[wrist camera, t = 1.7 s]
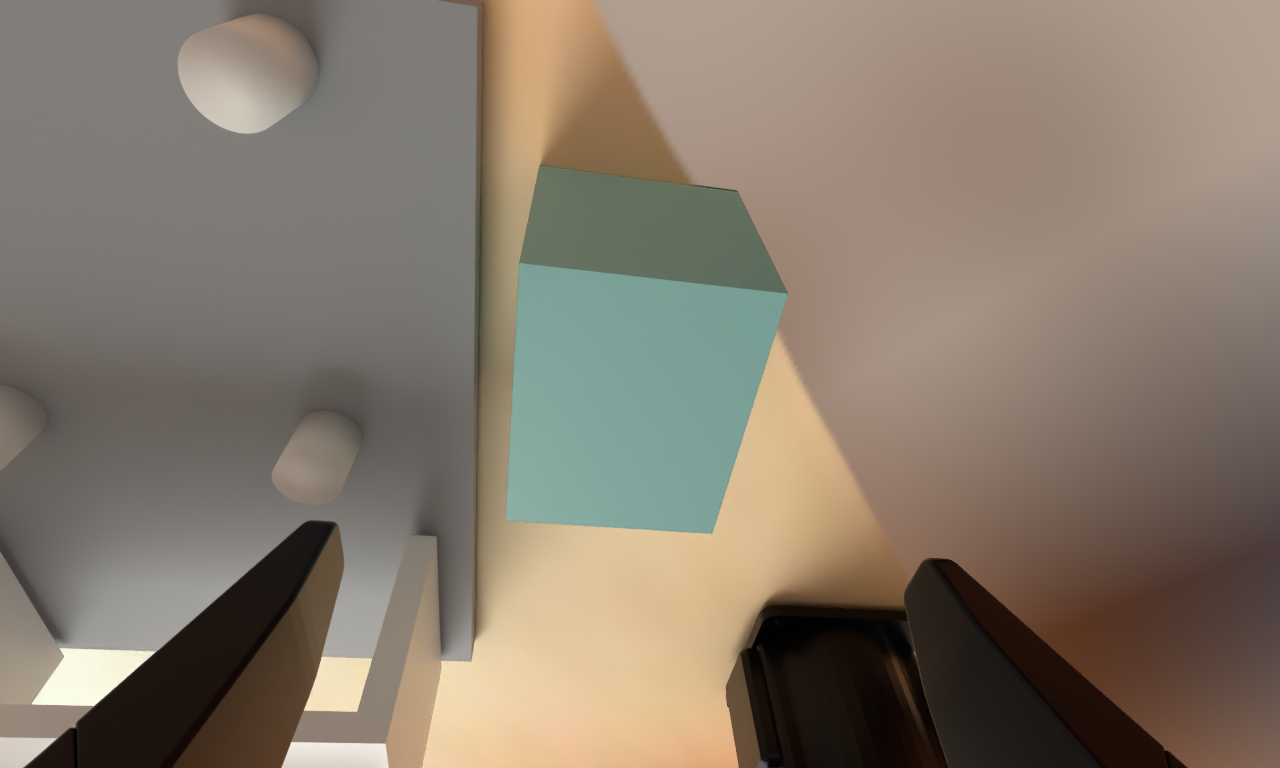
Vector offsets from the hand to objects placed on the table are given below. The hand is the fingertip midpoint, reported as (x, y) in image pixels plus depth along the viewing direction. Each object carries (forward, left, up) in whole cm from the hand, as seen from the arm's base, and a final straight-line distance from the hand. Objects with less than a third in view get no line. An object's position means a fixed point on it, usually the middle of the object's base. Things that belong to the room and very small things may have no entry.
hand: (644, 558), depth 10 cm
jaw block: (0, 0, -8) cm, 8 cm away
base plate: (+11, +4, -8) cm, 14 cm away
